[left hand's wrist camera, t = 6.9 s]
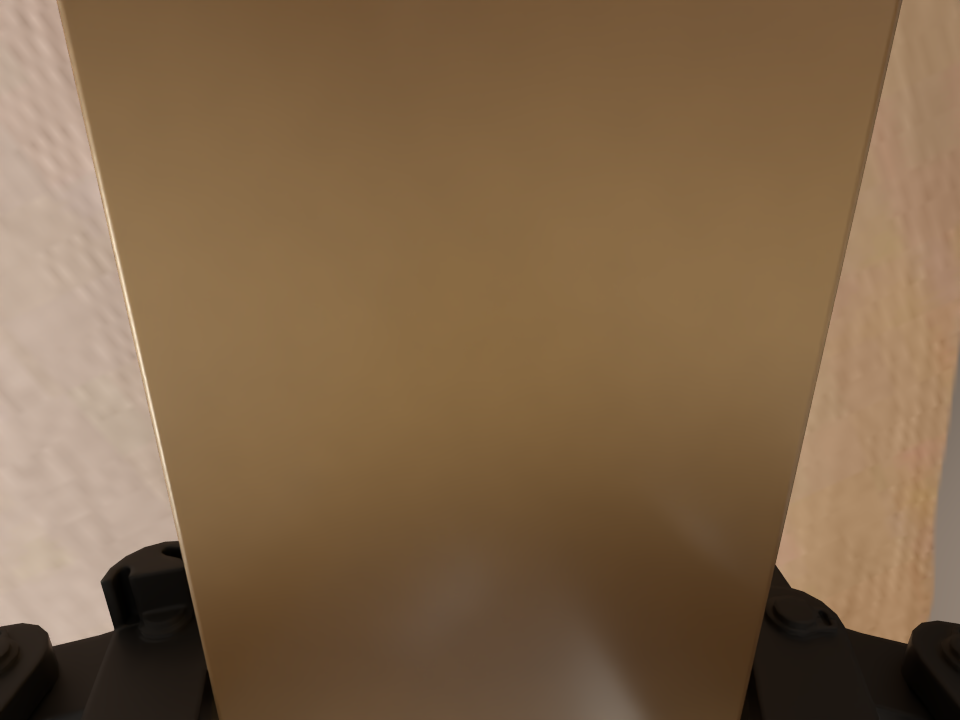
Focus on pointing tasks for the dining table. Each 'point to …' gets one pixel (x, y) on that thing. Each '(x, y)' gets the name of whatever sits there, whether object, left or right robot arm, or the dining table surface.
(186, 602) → the left robot arm
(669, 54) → the bar
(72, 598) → the dining table surface
